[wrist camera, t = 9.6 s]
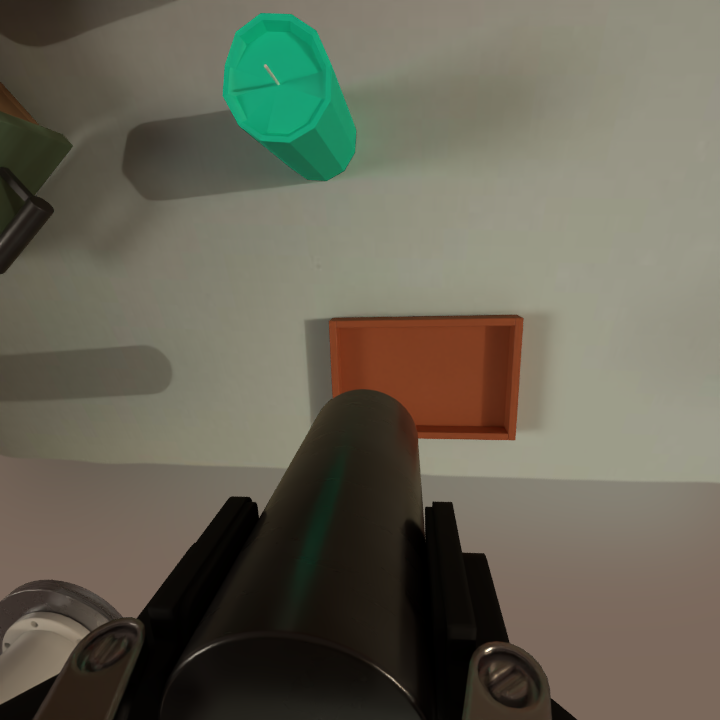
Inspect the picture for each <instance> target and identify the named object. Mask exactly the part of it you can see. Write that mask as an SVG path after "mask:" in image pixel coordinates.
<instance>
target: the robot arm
mask: <svg viewBox="0 0 720 720" xmlns="http://www.w3.org/2000/svg"><path fill="white" fill-rule="evenodd" d="M432 504H433V505H432V507H425V545H426V559H427V574H428V588H429V602H430V616H431V630H432V644H433V658H434V672H435V686H436V699H437V713H438V720H577V719H576V718H575V717H573V716H572V715H571V714H570V713H569V712H567V711H566V710H565V709H563V708H562V707H561V706H560V705H559V704H557V703H556V702H555V701H554V700H553V699H551V697H550V687H549V683H548V678H547V676H546V674H545V673H544V671H543V669H542V667H541V666H540V664H539V663H538V662H537V661H536V660H535V659H534V658H533V656H531V655H530V654H529V653H527V652H526V651H525V650H523V649H521V648H520V647H518V646H515V645H513V644H511V643H509V639H508V635H507V632H506V628H505V624H504V621H503V617H502V613H501V610H500V606H499V602H498V599H497V595H496V591H495V588H494V584H493V580H492V577H491V573H490V569H489V566H488V562H487V559H486V556H485V554H484V553H462V550H461V545H460V540H459V535H458V530H457V525H456V519H455V514H454V509H453V504H452V502H433V503H432ZM258 519H259V515H258V507H257V504H256V502H252V500H251V498H250V497H230V498H229V499H228V500H227V501H226V503H225V504H224V505H223V507H222V508H221V509H220V511H219V512H218V514H217V515H216V516H215V518H214V519H213V520H212V522H211V523H210V525H209V526H208V527H207V528H206V530H205V531H204V532H203V534H202V535H201V536H200V538H199V539H198V540H197V542H196V543H194V544H193V545H192V546H191V547H190V549H189V550H188V551H187V552H186V554H185V555H184V556H183V558H182V559H181V560H180V562H179V563H178V564H177V566H176V567H175V568H174V570H173V571H172V572H171V574H170V575H169V576H168V578H167V579H166V580H165V582H164V583H163V584H162V586H161V587H160V588H159V590H158V591H157V592H156V594H155V595H154V596H153V598H152V599H151V600H150V602H149V603H148V604H147V606H146V607H145V608H144V610H143V611H142V612H141V613H140V615H139V616H138V618H137V619H135V618H132V617H126V618H119V619H115V620H111V621H109V622H107V623H105V624H103V625H101V626H99V627H97V628H96V629H94V630H93V631H91V632H90V631H89V630H88V629H87V628H85V627H84V626H83V625H81V624H80V623H78V622H77V621H75V620H73V619H71V618H69V617H66V616H64V615H61V614H57V613H53V612H34V613H30V614H27V615H24V616H23V617H21V618H20V619H18V620H17V621H16V622H15V623H14V624H13V625H12V626H11V627H9V629H8V630H7V632H6V633H5V635H4V638H3V644H2V651H3V653H2V654H1V655H0V720H158V710H159V704H160V700H161V695H162V691H163V689H164V686H165V684H166V681H167V679H168V677H169V676H170V674H171V672H172V670H173V669H174V667H175V665H176V663H177V661H178V660H179V658H180V656H181V654H182V653H183V651H184V649H185V647H186V646H187V644H188V642H189V640H190V639H191V637H192V635H193V633H194V632H195V630H196V628H197V626H198V625H199V623H200V621H201V619H202V618H203V616H204V614H205V612H206V611H207V609H208V607H209V605H210V604H211V602H212V600H213V598H214V597H215V595H216V593H217V591H218V590H219V588H220V586H221V584H222V583H223V581H224V579H225V577H226V576H227V574H228V572H229V570H230V569H231V567H232V565H233V563H234V562H235V560H236V558H237V556H238V555H239V553H240V551H241V549H242V548H243V546H244V544H245V542H246V541H247V539H248V537H249V535H250V534H251V532H252V530H253V528H254V526H255V525H256V523H257V521H258Z"/></svg>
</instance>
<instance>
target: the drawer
mask: <svg viewBox="0 0 720 720" xmlns="http://www.w3.org/2000/svg"><path fill="white" fill-rule="evenodd" d="M72 147H73V145H72V144H71V143H70V142H69V141H68V140H67V139H66V138H65V137H64V135H63V134H60V133H58V132H55V131H52V130H50V129H47V128H44V127H42V126H39V124H38V123H37V122H36V121H35V120H34V119H33V118H32V116H31V115H30V114H29V113H28V112H27V111H26V110H25V109H24V108H23V106H22V105H21V104H20V103H19V102H18V101H17V100H16V99H15V98H14V96H13V95H12V94H11V93H10V92H9V91H8V90H7V89H6V88H5V86H4V85H3V84H2V83H1V82H0V274H3V273H5V272H6V271H7V269H8V268H9V267H10V266H11V264H12V263H13V262H14V261H15V259H16V258H17V257H18V256H19V255H20V253H21V252H22V251H23V250H24V248H25V247H26V246H27V245H28V243H29V242H30V241H31V240H32V239H33V237H34V236H35V235H36V234H37V232H38V231H39V230H40V229H41V227H42V226H43V225H44V224H45V223H46V221H47V220H48V219H49V218H50V216H51V215H52V214H53V213H54V209H53V207H52V206H51V205H50V204H49V203H48V202H46V201H45V200H43V199H41V198H39V197H37V196H34V195H35V194H36V193H37V191H38V190H39V189H40V188H41V186H42V185H43V184H44V182H45V181H46V180H47V179H48V177H49V176H50V175H51V174H52V172H53V171H54V170H55V168H56V167H57V166H58V165H59V163H60V162H61V161H62V159H63V158H64V157H65V156H66V154H67V153H68V152H69V151H70V149H71V148H72Z"/></svg>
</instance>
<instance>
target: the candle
mask: <svg viewBox="0 0 720 720" xmlns="http://www.w3.org/2000/svg"><path fill="white" fill-rule="evenodd" d="M223 97H224V99H225V101H226V103H227V105H228V106H229V108H230V110H231V112H232V114H233V116H234V118H235V119H236V121H237V123H238V125H239V126H240V127H241V128H242V129H243V130H245V131H246V132H247V133H248V134H250V135H251V136H252V137H253V138H254V139H256V140H257V141H258V142H259V143H261V144H262V145H263V146H264V147H266V148H267V149H268V150H269V151H270V152H272V153H273V154H274V155H275V156H277V157H278V158H279V159H280V160H282V161H283V162H284V163H285V164H286V165H288V166H289V167H290V168H291V169H293V170H294V171H296V172H297V173H299V174H300V175H301V176H303V177H304V178H306V179H307V180H321V181H327V180H329V179H331V178H333V177H334V176H336V175H338V174H340V173H341V172H343V171H344V170H345V169H346V167H347V165H348V164H349V162H350V160H351V158H352V157H353V155H354V153H355V144H356V128H355V126H354V123H353V120H352V118H351V115H350V112H349V110H348V107H347V104H346V102H345V99H344V96H343V94H342V91H341V89H340V86H339V83H338V81H337V78H336V75H335V73H334V70H333V67H332V65H331V63H330V60H329V58H328V56H327V54H326V51H325V49H324V47H323V44H322V42H321V40H320V38H319V35H318V33H317V31H316V30H314V29H313V28H311V27H310V26H308V25H307V24H305V23H304V22H302V21H301V20H299V19H298V18H296V17H295V16H293V15H292V14H271V13H260V14H259V15H258V16H256V17H255V18H254V19H252V20H251V21H250V22H248V23H247V24H246V25H244V26H243V27H242V28H240V29H239V30H238V31H236V33H235V36H234V39H233V42H232V45H231V48H230V51H229V54H228V57H227V60H226V63H225V70H224V84H223Z"/></svg>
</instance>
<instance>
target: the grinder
mask: <svg viewBox="0 0 720 720" xmlns="http://www.w3.org/2000/svg"><path fill="white" fill-rule="evenodd" d="M158 720H438V713H437V699H436V686H435V672H434V658H433V644H432V630H431V616H430V602H429V588H428V574H427V559H426V545H425V532H424V517H423V502H422V488H421V474H420V460H419V446H418V433H417V429H416V425H415V423H414V420H413V418H412V417H411V415H410V413H409V412H408V411H407V409H406V408H405V407H404V406H403V405H402V404H401V403H400V402H398V401H397V400H396V399H394V398H393V397H391V396H389V395H387V394H385V393H382V392H379V391H375V390H369V389H358V390H351V391H347V392H344V393H342V394H340V395H338V396H336V397H334V398H333V399H331V400H330V401H329V402H328V403H327V404H326V405H325V406H324V407H323V408H322V410H321V411H320V413H319V414H318V416H317V418H316V420H315V421H314V423H313V425H312V427H311V428H310V430H309V432H308V434H307V435H306V437H305V439H304V441H303V442H302V444H301V446H300V448H299V449H298V451H297V453H296V455H295V456H294V458H293V460H292V462H291V463H290V465H289V467H288V469H287V470H286V472H285V474H284V476H283V477H282V479H281V481H280V483H279V485H278V486H277V488H276V490H275V491H274V493H273V495H272V497H271V499H270V500H269V502H268V504H267V506H266V508H265V509H264V511H263V512H262V514H261V516H260V518H259V519H258V521H257V523H256V525H255V526H254V528H253V530H252V532H251V534H250V535H249V537H248V539H247V541H246V542H245V544H244V546H243V548H242V549H241V551H240V553H239V555H238V556H237V558H236V560H235V562H234V563H233V565H232V567H231V569H230V570H229V572H228V574H227V576H226V577H225V579H224V581H223V583H222V584H221V586H220V588H219V590H218V591H217V593H216V595H215V597H214V598H213V600H212V602H211V604H210V605H209V607H208V609H207V611H206V612H205V614H204V616H203V618H202V619H201V621H200V623H199V625H198V626H197V628H196V630H195V632H194V633H193V635H192V637H191V639H190V640H189V642H188V644H187V646H186V647H185V649H184V651H183V653H182V654H181V656H180V658H179V660H178V661H177V663H176V665H175V667H174V669H173V670H172V672H171V674H170V676H169V677H168V679H167V681H166V684H165V686H164V689H163V691H162V695H161V700H160V704H159V710H158Z"/></svg>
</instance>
